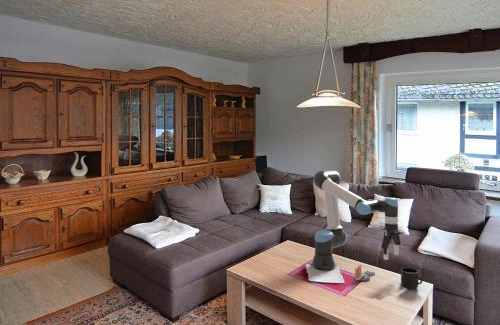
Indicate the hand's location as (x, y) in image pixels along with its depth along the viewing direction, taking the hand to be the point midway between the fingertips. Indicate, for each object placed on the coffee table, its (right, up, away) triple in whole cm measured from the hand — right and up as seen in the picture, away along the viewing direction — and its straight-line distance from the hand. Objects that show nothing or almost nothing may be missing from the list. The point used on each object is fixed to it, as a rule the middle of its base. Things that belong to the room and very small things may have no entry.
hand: (391, 257), depth 215 cm
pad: (-12, -14, +12) cm, 22 cm away
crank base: (-18, -14, +2) cm, 23 cm away
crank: (-19, -12, 0) cm, 23 cm away
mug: (+8, -15, -9) cm, 19 cm away
